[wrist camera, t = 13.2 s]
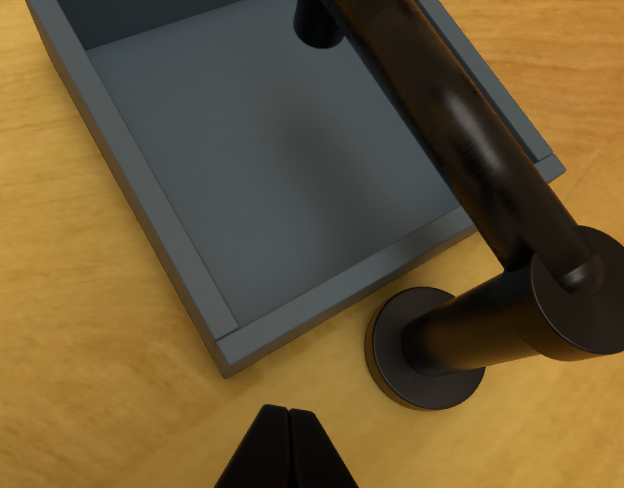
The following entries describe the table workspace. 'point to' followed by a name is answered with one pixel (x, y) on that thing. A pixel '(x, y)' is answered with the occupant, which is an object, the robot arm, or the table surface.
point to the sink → (262, 158)
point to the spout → (486, 178)
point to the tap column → (440, 344)
